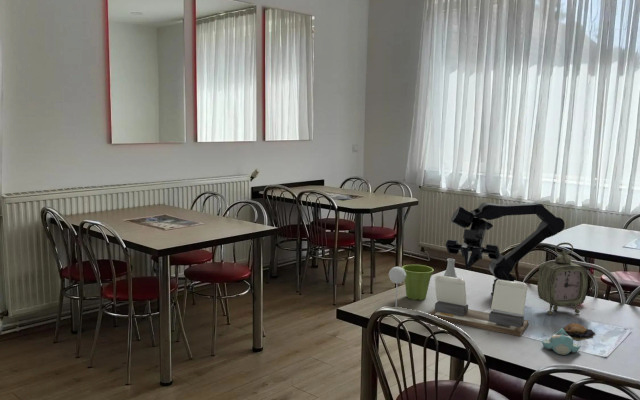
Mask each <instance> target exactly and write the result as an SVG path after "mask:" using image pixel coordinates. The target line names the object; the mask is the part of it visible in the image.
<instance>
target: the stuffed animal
mask: <svg viewBox="0 0 640 400" xmlns="http://www.w3.org/2000/svg"><path fill="white" fill-rule="evenodd" d="M563 328H564V327H561V328H560V329H559V330H558V331H557V332H556V333H554V334H553V335H551V336H550V337H549V338H548V339H547V340H541V344H542V346H543V347H544V348H545V349H546V350H552V351H553V352H555V354H558V355H562V356H563V355H564V356H565V355H568V354H569V353H573V354H575V353H577V352H578V351H579V350H580V348H581V345H579V344H575V343H574V340H573V339H572V338H571V337H570V336H569V335H568V334H567V333H566V332H565V330H564V329H563Z"/></svg>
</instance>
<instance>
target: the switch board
mask: <svg viewBox="0 0 640 400" xmlns="http://www.w3.org/2000/svg"><path fill="white" fill-rule="evenodd" d="M429 314H431V315H434V316H437V317H438V318H441V319H443V320H446V321H445V322H447V321H448V322H447V323H452V324H457V325H463V326H467V327H473V328H477V329H478V328H479V329H482V330H487V331H493V332H496V333H497V332H498V333H501V334H507V335H512V336H518V337H521V335H522V334H523V333H524V331H526V329H527V327H528V326H529V320H528V319H525V315H524V314H523V315H519V314H514V313H509V312H503V311H498V310H492V309H491V311H490V312H486V311H481V310H475V309H469V304H466V306H464V305H458V304H453V303H447V302H442V301H436V302H435V303H434V309H432V310H431V311H430V312H429V313H428V315H429Z"/></svg>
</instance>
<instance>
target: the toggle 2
mask: <svg viewBox="0 0 640 400" xmlns="http://www.w3.org/2000/svg"><path fill="white" fill-rule="evenodd" d="M527 293H528V285H527V284H526V283H524V282H518V281H514V282H512V281H505V280H497V281H496V282H495V288H494V294H493V295H492V301H491V307H490V310H491V311H492V310H498V311H503V312H509V313H514V314H519V315H524V312H525V305H526V301H527Z"/></svg>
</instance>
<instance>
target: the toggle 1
mask: <svg viewBox="0 0 640 400" xmlns="http://www.w3.org/2000/svg"><path fill="white" fill-rule="evenodd" d="M434 285H435V294H436V295H435V296H436V302H438V301H442V302H447V303H453V304H458V305H464V306H466V305H468V303H467V291H466V282H465V280H464V279H463V278H458V277H457V278H453V277H447V276H444V275H440V274H437V275H435V277H434Z"/></svg>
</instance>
